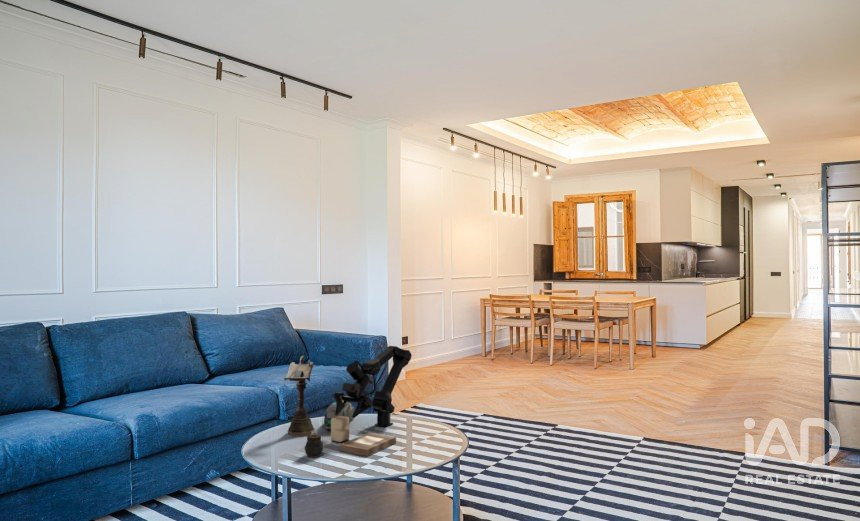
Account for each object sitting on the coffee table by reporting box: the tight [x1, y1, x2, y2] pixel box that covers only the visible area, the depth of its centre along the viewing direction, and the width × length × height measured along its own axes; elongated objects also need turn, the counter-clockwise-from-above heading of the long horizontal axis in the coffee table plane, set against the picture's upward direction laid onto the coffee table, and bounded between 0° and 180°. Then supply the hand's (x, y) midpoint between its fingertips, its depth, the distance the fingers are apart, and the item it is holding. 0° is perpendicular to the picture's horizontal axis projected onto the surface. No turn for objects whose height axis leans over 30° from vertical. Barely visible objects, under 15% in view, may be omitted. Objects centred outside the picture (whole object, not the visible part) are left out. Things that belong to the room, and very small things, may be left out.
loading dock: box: [339, 432, 397, 457], centre depth 244 cm, size 20×14×3 cm
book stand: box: [282, 355, 316, 437], centre depth 263 cm, size 17×13×35 cm
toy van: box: [323, 401, 355, 431], centre depth 279 cm, size 11×25×10 cm, turn 178°
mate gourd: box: [304, 430, 324, 458], centre depth 233 cm, size 7×8×10 cm
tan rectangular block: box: [330, 416, 350, 445], centre depth 251 cm, size 6×5×10 cm
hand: (344, 416), depth 254 cm, fingers open, 9 cm apart
